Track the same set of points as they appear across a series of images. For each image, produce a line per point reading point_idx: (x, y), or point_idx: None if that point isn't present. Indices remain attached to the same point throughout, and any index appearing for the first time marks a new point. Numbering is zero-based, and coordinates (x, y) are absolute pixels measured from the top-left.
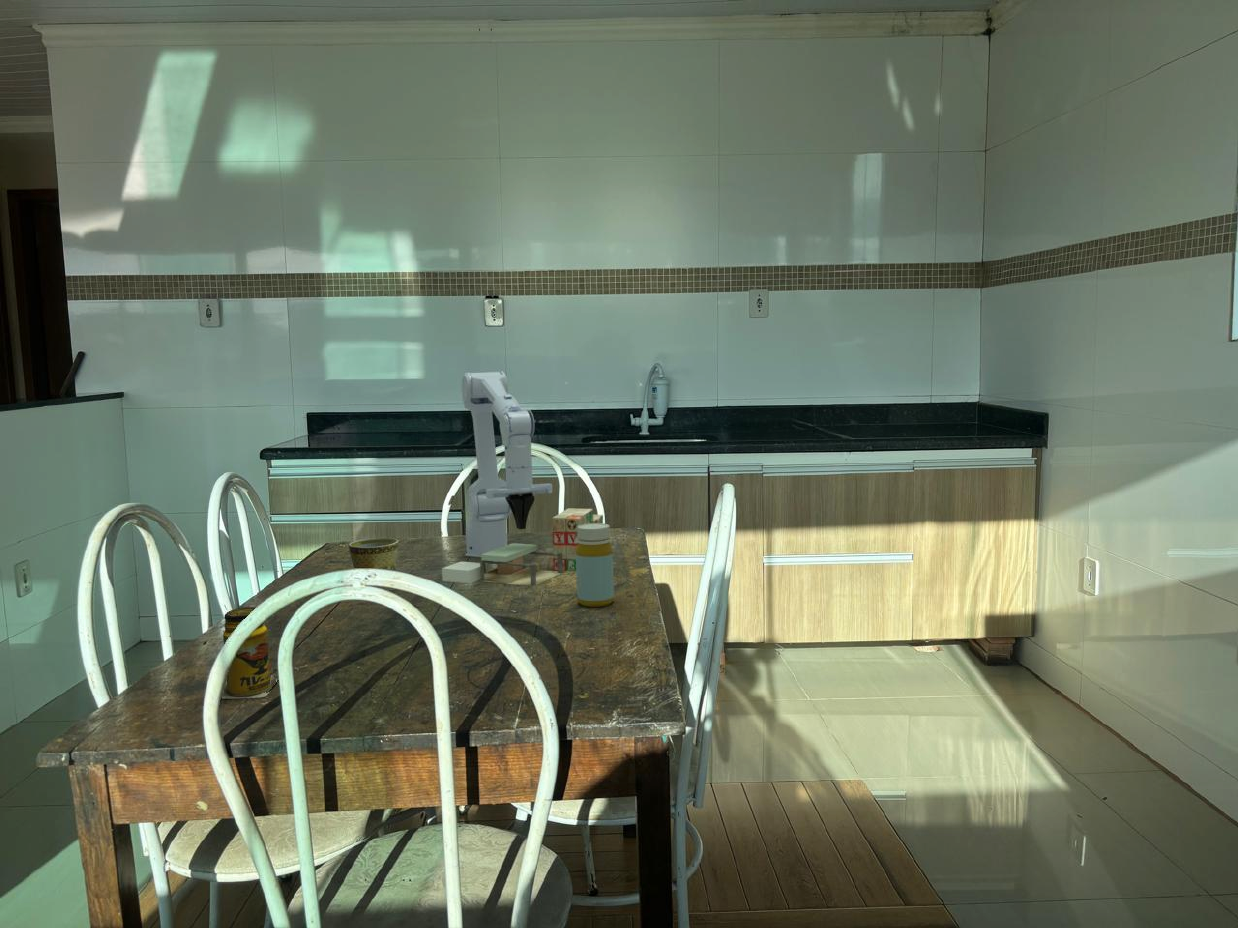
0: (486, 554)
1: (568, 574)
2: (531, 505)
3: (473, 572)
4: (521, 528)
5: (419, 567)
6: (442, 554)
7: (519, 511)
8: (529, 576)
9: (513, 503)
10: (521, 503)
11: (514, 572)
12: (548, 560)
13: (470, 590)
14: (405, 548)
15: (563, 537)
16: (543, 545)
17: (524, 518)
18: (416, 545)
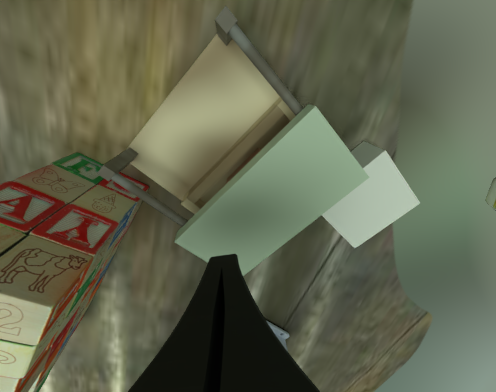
0: (355, 171)
1: (110, 140)
2: (142, 375)
3: (362, 161)
4: (228, 256)
5: (374, 296)
6: (312, 348)
7: (244, 324)
8: (217, 147)
9: (314, 386)
10: (233, 390)
11: (256, 154)
12: (152, 277)
13: (388, 78)
14: (341, 378)
15: (60, 223)
16: (152, 360)
17: (211, 290)
18: (323, 387)
